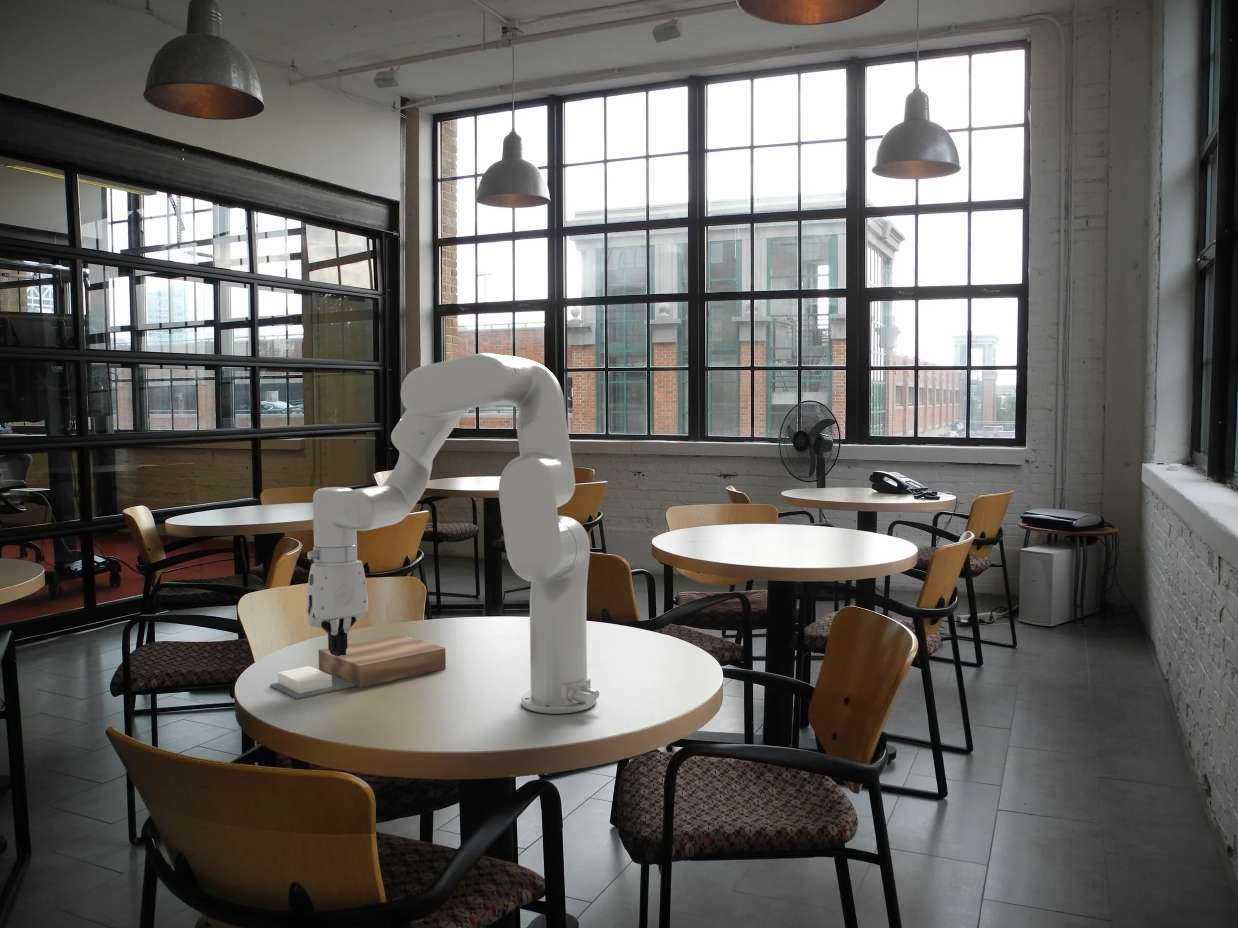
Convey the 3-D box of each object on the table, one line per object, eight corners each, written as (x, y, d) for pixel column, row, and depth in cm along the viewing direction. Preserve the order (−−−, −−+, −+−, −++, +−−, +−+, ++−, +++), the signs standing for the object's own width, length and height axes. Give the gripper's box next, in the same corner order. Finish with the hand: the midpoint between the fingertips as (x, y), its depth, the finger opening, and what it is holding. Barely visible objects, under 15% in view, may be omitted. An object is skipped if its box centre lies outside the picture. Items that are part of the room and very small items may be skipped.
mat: (354, 686, 169) (354, 684, 169) (297, 699, 162) (296, 696, 162) (326, 674, 177) (326, 672, 177) (270, 685, 170) (270, 683, 170)
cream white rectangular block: (299, 682, 164) (299, 693, 164) (331, 675, 168) (332, 686, 168) (277, 672, 170) (278, 682, 170) (309, 665, 174) (309, 676, 174)
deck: (445, 668, 181) (445, 648, 180) (359, 687, 168) (359, 665, 168) (402, 653, 192) (401, 634, 192) (318, 670, 180) (318, 649, 180)
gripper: (305, 562, 164) (308, 666, 165) (383, 552, 174) (385, 650, 175) (287, 557, 169) (289, 658, 170) (363, 548, 180) (365, 643, 181)
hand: (338, 654), depth 173 cm, fingers closed
